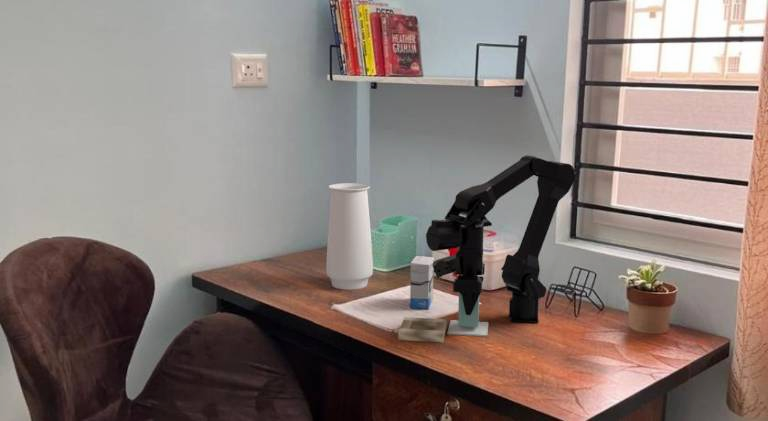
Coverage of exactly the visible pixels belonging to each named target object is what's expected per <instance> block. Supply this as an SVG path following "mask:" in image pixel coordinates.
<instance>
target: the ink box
mask: <svg viewBox="0 0 768 421" xmlns="http://www.w3.org/2000/svg"><path fill="white" fill-rule="evenodd" d="M434 261H435V260H434V257H433V256H422V255H420V256H419V255H415V257H414V258H413V259H412V261H411V262H410V287H409V288H410V292H409V294H410V295H409V296H410V297H409V308H410V309H418V308H421V309H422V310H429V308H430V306H431V304H432V302H433V300H434V298H433V297H434V296H433V295H434V268H433V266H432V265H433V262H434Z"/></svg>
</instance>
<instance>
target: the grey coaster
mask: <svg viewBox="0 0 768 421" xmlns="http://www.w3.org/2000/svg"><path fill="white" fill-rule="evenodd" d="M449 321H450V322H449V325H448V327H447V329H448V330H447V331H446V332H447V334H446V335H451V336H452V335H454V336H469V337H485V338H486V337H488V332H489V322H488V321H479V322H478V327H469V326H458V319H457V320H456V319H454V320H453V319H450V320H449Z"/></svg>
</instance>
